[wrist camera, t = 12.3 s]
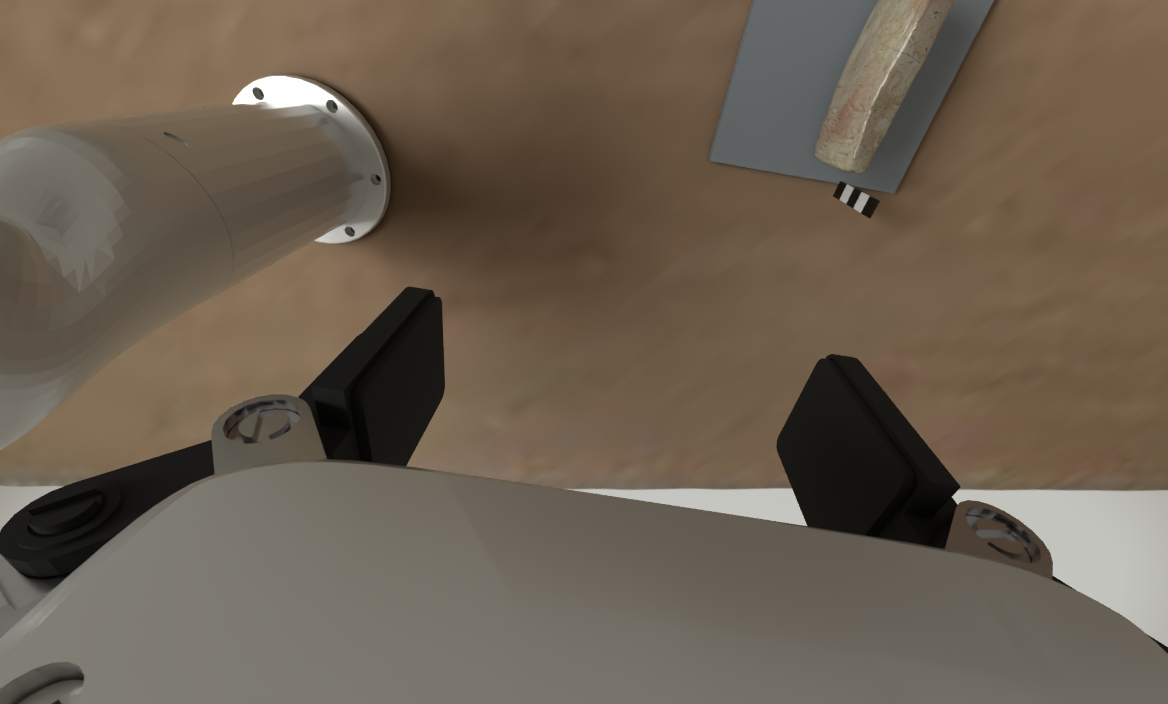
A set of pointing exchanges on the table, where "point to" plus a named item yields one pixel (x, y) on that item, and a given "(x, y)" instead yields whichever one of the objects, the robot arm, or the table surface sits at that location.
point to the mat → (825, 88)
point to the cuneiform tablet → (876, 87)
